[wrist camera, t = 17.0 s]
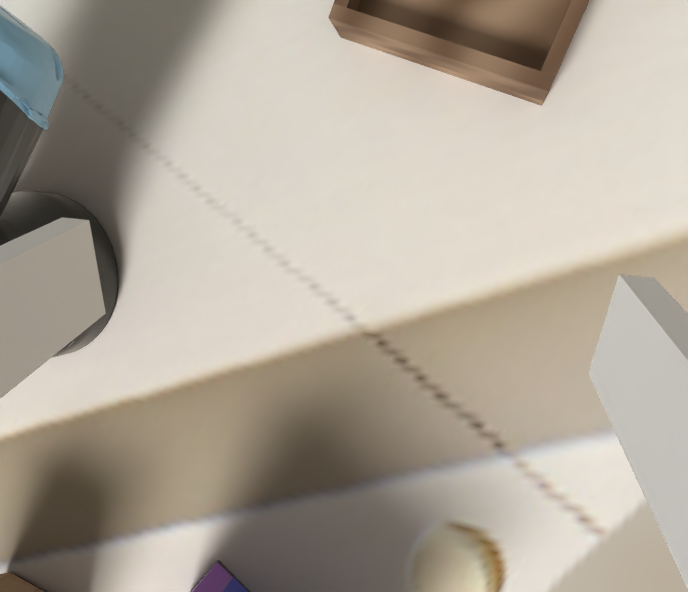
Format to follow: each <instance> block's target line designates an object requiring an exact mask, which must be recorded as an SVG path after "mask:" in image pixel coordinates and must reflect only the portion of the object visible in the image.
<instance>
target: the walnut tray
mask: <svg viewBox="0 0 688 592" xmlns="http://www.w3.org/2000/svg"><path fill="white" fill-rule="evenodd" d="M588 2H589V0H335V1H334V4H333V7H332V10H331V12H330V15H329V19H330V21H331V22H332V24H333V26H334V27H335V29H336V30H337V32H338V34H339V35H340V37H342V38H345V39H347V40H350V41H353V42H356V43H359V44H362V45H365V46H368V47H371V48H374V49H377V50H380V51H383V52H386V53H389V54H392V55H395V56H397V57H400V58H403V59H406V60H409V61H412V62H415V63H418V64H421V65H424V66H427V67H430V68H433V69H436V70H439V71H442V72H445V73H447V74H450V75H453V76H456V77H459V78H462V79H465V80H468V81H471V82H474V83H477V84H480V85H483V86H486V87H489V88H492V89H495V90H497V91H500V92H503V93H506V94H509V95H512V96H515V97H518V98H521V99H524V100H527V101H530V102H533V103H536V104H539V105H542V104H543V102H544V100H545V98H546V96H547V94H548V92H549V90H550V87H551V85H552V83H553V81H554V78H555V76H556V74H557V72H558V70H559V67H560V65H561V63H562V61H563V58H564V56H565V54H566V52H567V49H568V47H569V45H570V43H571V40H572V38H573V36H574V34H575V31H576V29H577V27H578V25H579V22H580V20H581V18H582V16H583V13H584V11H585V9H586V7H587V4H588Z"/></svg>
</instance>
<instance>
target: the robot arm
mask: <svg viewBox="0 0 688 592" xmlns="http://www.w3.org/2000/svg"><path fill="white" fill-rule="evenodd" d="M63 76H64V72H63V66H62V63H61V60H60V58H59V56H58V55H57V53H56V52H55V50H54V49H53V48H52V47H51V46H50V45H49V44H48V43H47V42H46V41H45V40H44V39H43V38H42V37H40V36H39V35H38V34H37V33H36V32H34V31H33V30H32V29H31V28H29V27H28V26H27V25H25V24H24V23H23V22H22V21H20V20H19V19H18V18H16V17H15V16H14V15H12V14H11V13H10V12H8V11H7V10H6V9H4V8H3V7H2V6H0V398H2V397H3V396H4V395H5V394H7V393H8V392H9V391H10V390H12V389H13V388H14V387H15V386H17V385H18V384H19V383H20V382H21V381H23V380H24V379H25V378H26V377H28V376H29V375H30V374H31V373H33V372H34V371H35V370H36V369H38V368H39V367H40V366H41V365H43V364H44V363H45V362H46V361H47V360H49V359H50V358H52V357H56V356H60V355H64V354H67V353H71V352H74V351H77V350H79V349H81V348H83V347H84V346H86V345H87V344H89V343H90V342H91V341H93V340H94V339H95V338H96V337H97V336H98V335H99V333H100V332H101V331H102V330H103V328H104V327H105V325H106V323H107V322H108V320H109V318H110V315H111V313H112V310H113V308H114V304H115V300H116V295H117V285H118V276H117V265H116V260H115V256H114V252H113V249H112V246H111V244H110V241H109V239H108V237H107V235H106V233H105V231H104V229H103V228H102V226H101V225H100V224H99V222H98V221H97V220H96V218H95V217H94V216H93V215H92V214H91V213H90V212H89V211H88V210H87V209H85V208H84V207H83V206H82V205H80V204H79V203H77V202H75V201H74V200H72V199H70V198H67V197H65V196H62V195H58V194H53V193H44V192H36V191H19V192H13V190H14V188H15V186H16V184H17V182H18V180H19V178H20V176H21V174H22V172H23V170H24V168H25V166H26V164H27V162H28V160H29V157H30V155H31V153H32V151H33V149H34V147H35V145H36V143H37V141H38V139H39V137H40V135H41V133H42V131H43V130H47V128H48V126H49V123H48V120H47V119H48V116H49V114H50V111H51V109H52V106H53V104H54V102H55V99H56V97H57V95H58V92H59V90H60V87H61V85H62V82H63ZM12 192H13V193H12ZM588 374H589V377H590V379H591V381H592V383H593V385H594V387H595V390H596V392H597V394H598V396H599V398H600V400H601V403H602V405H603V407H604V409H605V411H606V413H607V416H608V418H609V420H610V422H611V424H612V426H613V429H614V431H615V433H616V435H617V437H618V440H619V442H620V444H621V446H622V448H623V450H624V453H625V455H626V457H627V459H628V461H629V463H630V466H631V468H632V470H633V472H634V474H635V476H636V479H637V481H638V483H639V485H640V487H641V489H642V492H643V494H644V496H645V498H646V500H647V502H648V505H649V507H650V509H651V511H652V513H653V515H654V518H655V520H656V522H657V524H658V526H659V528H660V531H661V533H662V535H663V537H664V539H665V541H666V544H667V546H668V548H669V550H670V552H671V555H672V557H673V559H674V561H675V562H676V565H677V568H678V570H679V572H680V574H681V576H682V578H683V580H684V583H685V585H686V587H687V589H688V313H687V312H686V311H685V310H684V309H683V308H682V307H681V306H680V305H679V303H678V302H677V301H676V300H675V299H674V298H673V297H672V296H671V295H670V294H669V293H668V292H667V291H666V290H665V288H664V287H663V286H662V285H661V284H660V283H659V282H658V281H657V280H656V279H655V278H651V277H641V276H631V275H621V274H619V276H618V280H617V283H616V286H615V289H614V293H613V296H612V299H611V302H610V306H609V309H608V312H607V315H606V318H605V322H604V325H603V328H602V331H601V335H600V338H599V341H598V344H597V348H596V351H595V354H594V357H593V361H592V364H591V367H590V370H589V373H588Z"/></svg>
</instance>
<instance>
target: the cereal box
mask: <svg viewBox="0 0 688 592" xmlns="http://www.w3.org/2000/svg"><path fill="white" fill-rule="evenodd" d="M191 592H250V591H249V590H248V589H247V588H246V587H245V586H244V585H243V584H242V583H241V582H240V581H239V580H238V579H237V578H236V577H235V576H234V575H233V574H232V573H231V572H230V571H229V570H228V569H227V568H226V567H225V566H224V565H223V564H222V563H221V562H220V561H219V560H218V561H217V562H216V564H215V565H214V566H213V567H212V568H211V569H210V570H209V571H208V573H207V574H206V575H205V576H204V577H203V578H202V579H201V581H200V582H199V583H198V584H197V585H196V586H195V587H194V589H193V590H192V591H191Z"/></svg>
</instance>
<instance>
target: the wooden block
mask: <svg viewBox="0 0 688 592" xmlns="http://www.w3.org/2000/svg"><path fill="white" fill-rule="evenodd" d="M0 592H44V591H42V590H40V589H39V588H37V587H35V586H33V585H31V584H30V583H28V582H26V581H24V580H23V579H21V578H19V577H17V576H15V575H14V574H12V573H4V574H1V575H0Z"/></svg>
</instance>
